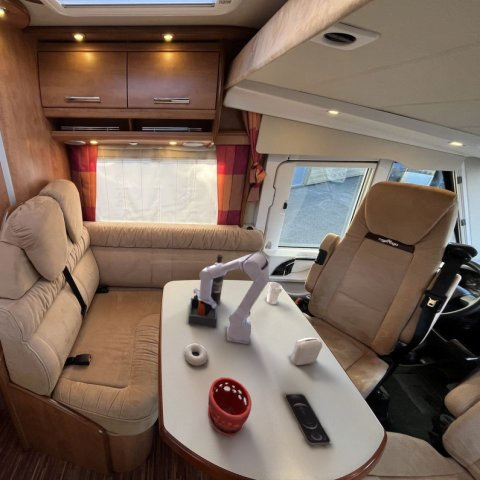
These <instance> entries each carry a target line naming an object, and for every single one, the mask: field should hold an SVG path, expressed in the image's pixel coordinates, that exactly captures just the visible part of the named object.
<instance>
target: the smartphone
mask: <svg viewBox="0 0 480 480" xmlns="http://www.w3.org/2000/svg"><path fill="white" fill-rule="evenodd" d="M284 398H285V401H286V403H287V406H288V407H289V409H290V411H291V413H292V414H293V417H294V419H295V422H296V423H297V425H298V427H299V430H300V431H301V433H302V435H303V437H304V439H305V441H306V442H307V443H308V444H309V445H314V446H315V445H330V443H331V439H330V437H329V435H328V434H327V431H326V430H325V428H324V426H323V425H322V423H321V422H320V420H319V418H318V417H317V415H316V413H315V411H314V409H313V408H312V406H311V404H310V402H309V401H308V399H307V398H306V395H304V394H302V393H292V394H291V393H289V394H288V393H287V394H285V396H284Z"/></svg>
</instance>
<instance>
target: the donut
mask: <svg viewBox="0 0 480 480" xmlns="http://www.w3.org/2000/svg"><path fill="white" fill-rule="evenodd" d="M183 353H184V354H183V356H184V358H185V360H186V361H187V362H188V363H189V364H190V365H193V366H202V365H203V364H205V363H206V362H207V361H208V351H207V349H206V348H205V347H204V346H203V345H202V344H200V343H190V344H188V345H187V346H186V347H185V348H184V351H183ZM193 353H198V354H199V355H197V356H196V355H194V354H193Z"/></svg>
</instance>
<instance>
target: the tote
mask: <svg viewBox="0 0 480 480" xmlns="http://www.w3.org/2000/svg"><path fill="white" fill-rule="evenodd" d="M214 302H215V303H216V301H214ZM217 310H218V309H217V306H216V307H215V308H212V309H211V310H210V312H209V314H208V315H207V316H206V317H205V316H198V314H197V311H198V308H197V304H196V301H195V299H194V297H190V304H189V311H188V312H189V313H188V322H187V323H188V324H190V325H194V326H195V325H196V326H202V327H209V328H215V329H216V328H217V322H218V312H217Z"/></svg>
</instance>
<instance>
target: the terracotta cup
mask: <svg viewBox="0 0 480 480" xmlns="http://www.w3.org/2000/svg"><path fill="white" fill-rule="evenodd" d="M205 304H207V303H205V302H203V301H199V302H198V311H197V314H198V316H205V317H206V316H207V315H208V314H207V315H205V307H204V305H205Z"/></svg>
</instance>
